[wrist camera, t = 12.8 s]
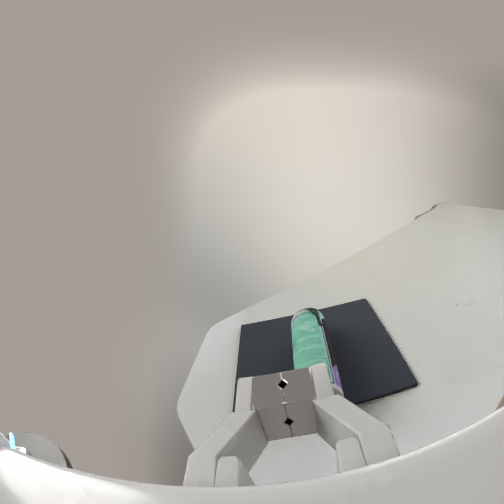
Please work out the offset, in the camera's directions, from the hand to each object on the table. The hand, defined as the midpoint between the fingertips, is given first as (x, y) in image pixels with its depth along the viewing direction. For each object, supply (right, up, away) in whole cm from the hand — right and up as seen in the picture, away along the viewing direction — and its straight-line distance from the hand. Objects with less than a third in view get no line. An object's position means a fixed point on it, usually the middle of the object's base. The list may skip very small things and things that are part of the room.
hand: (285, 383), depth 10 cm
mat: (+8, -11, +33) cm, 36 cm away
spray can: (+6, -12, +20) cm, 24 cm away
